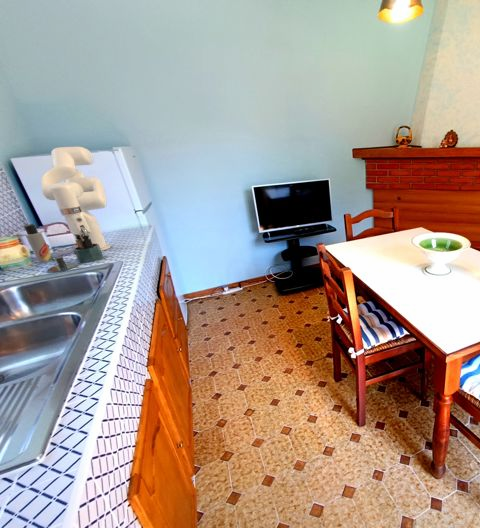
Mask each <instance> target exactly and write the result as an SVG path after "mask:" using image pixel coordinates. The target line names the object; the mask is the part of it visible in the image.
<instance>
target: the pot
mask: <svg viewBox="0 0 480 528" xmlns="http://www.w3.org/2000/svg"><path fill="white" fill-rule="evenodd" d="M93 246H94V247H92V248H88V249H83V250H82V249H79V248H78V246H76V247H73V249H72V251H73V253H74V255H75V258H76V260H77V263H78V264H89V263H95V262H97V261H101V260H102V259H104V257H105V255H104V253H103V251H101V249H100V246H99V244H93Z"/></svg>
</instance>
